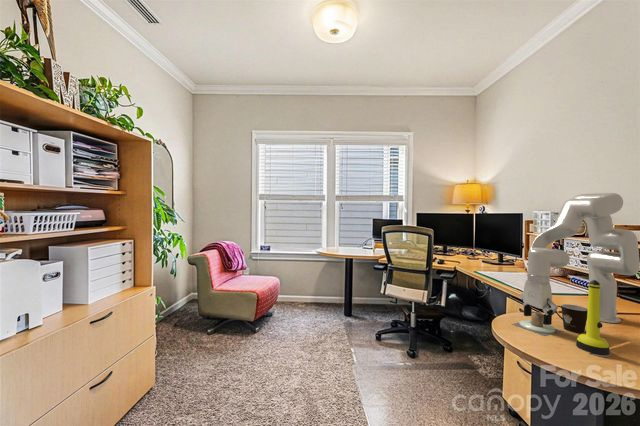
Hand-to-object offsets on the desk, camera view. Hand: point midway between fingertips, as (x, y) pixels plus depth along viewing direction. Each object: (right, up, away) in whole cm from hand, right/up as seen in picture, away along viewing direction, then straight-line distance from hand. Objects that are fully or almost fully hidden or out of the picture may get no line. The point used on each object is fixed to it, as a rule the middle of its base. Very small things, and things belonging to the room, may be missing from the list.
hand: (537, 320), depth 124 cm
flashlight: (+6, -4, -19) cm, 20 cm away
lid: (0, -3, 0) cm, 3 cm away
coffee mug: (+14, -4, 0) cm, 15 cm away
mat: (0, -4, 0) cm, 4 cm away
